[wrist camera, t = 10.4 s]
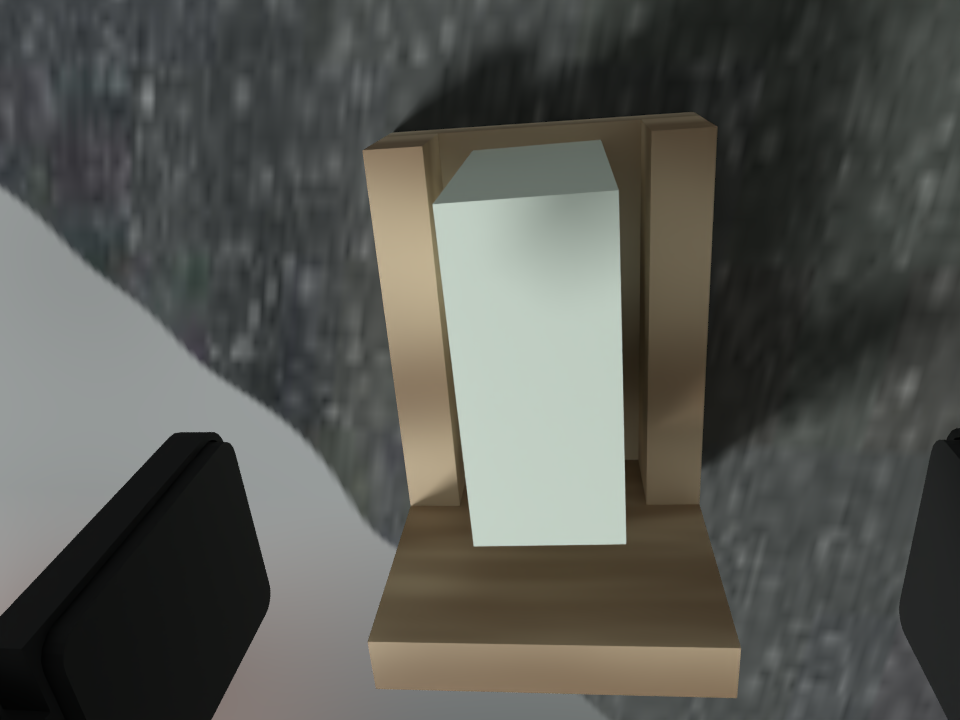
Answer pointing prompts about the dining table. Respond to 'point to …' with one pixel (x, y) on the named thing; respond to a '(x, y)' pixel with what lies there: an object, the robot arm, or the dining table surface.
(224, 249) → the dining table surface
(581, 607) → the track block
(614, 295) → the pale green tall block
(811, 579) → the dining table surface
